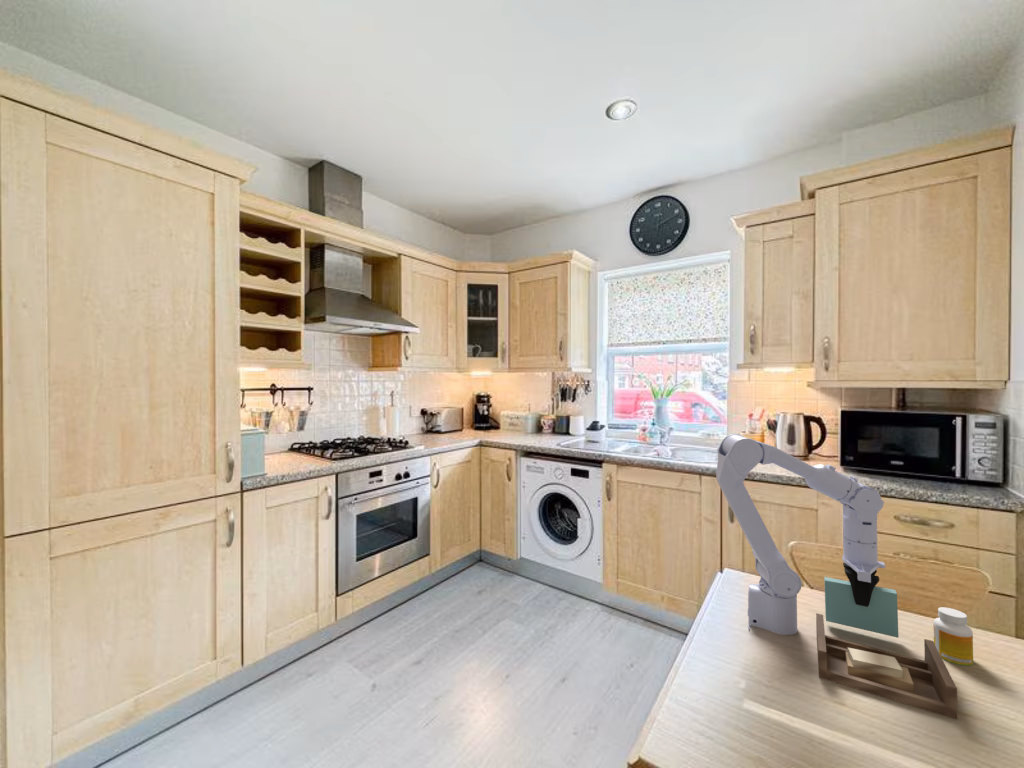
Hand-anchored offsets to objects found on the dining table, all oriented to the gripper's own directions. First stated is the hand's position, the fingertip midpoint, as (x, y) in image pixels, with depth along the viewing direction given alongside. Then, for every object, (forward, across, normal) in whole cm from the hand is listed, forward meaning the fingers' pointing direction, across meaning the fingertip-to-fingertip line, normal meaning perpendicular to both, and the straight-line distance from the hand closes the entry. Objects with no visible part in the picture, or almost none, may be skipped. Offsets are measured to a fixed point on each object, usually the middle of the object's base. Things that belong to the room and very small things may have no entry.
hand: (861, 602), depth 91 cm
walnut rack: (+8, -14, -1) cm, 16 cm away
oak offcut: (+7, -15, -1) cm, 16 cm away
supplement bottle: (+8, 0, -14) cm, 16 cm away
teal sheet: (+5, 0, 0) cm, 5 cm away
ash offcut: (+5, -15, 0) cm, 16 cm away
